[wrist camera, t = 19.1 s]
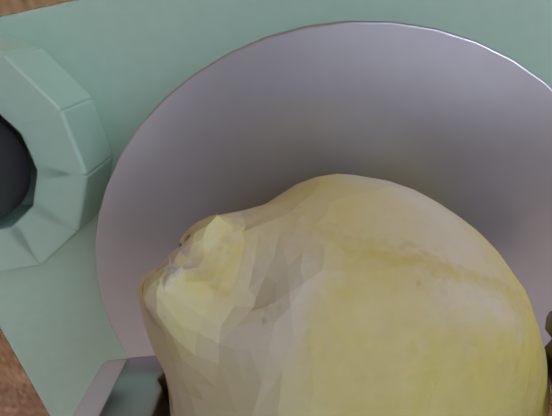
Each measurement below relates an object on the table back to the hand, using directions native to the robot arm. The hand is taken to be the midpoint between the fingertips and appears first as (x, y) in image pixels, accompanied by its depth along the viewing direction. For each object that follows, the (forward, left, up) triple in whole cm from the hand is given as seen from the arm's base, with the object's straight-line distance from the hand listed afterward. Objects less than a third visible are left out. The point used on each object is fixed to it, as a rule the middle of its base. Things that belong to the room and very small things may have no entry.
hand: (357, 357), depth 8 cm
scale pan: (0, 0, -3) cm, 3 cm away
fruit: (+1, 0, -2) cm, 2 cm away
